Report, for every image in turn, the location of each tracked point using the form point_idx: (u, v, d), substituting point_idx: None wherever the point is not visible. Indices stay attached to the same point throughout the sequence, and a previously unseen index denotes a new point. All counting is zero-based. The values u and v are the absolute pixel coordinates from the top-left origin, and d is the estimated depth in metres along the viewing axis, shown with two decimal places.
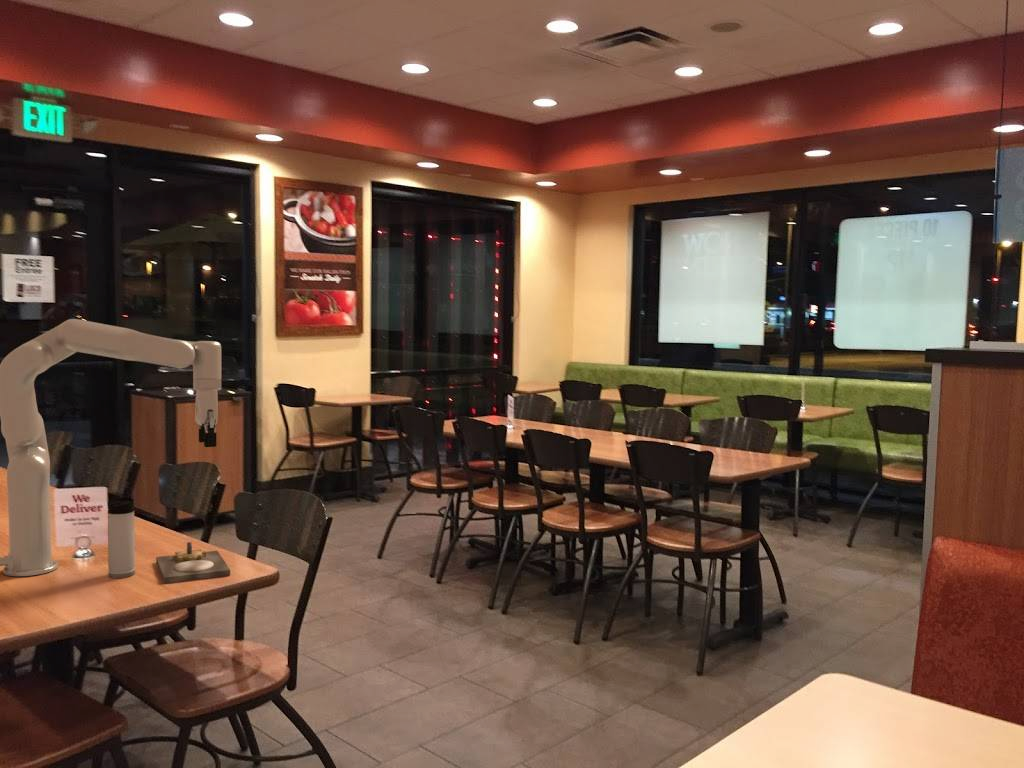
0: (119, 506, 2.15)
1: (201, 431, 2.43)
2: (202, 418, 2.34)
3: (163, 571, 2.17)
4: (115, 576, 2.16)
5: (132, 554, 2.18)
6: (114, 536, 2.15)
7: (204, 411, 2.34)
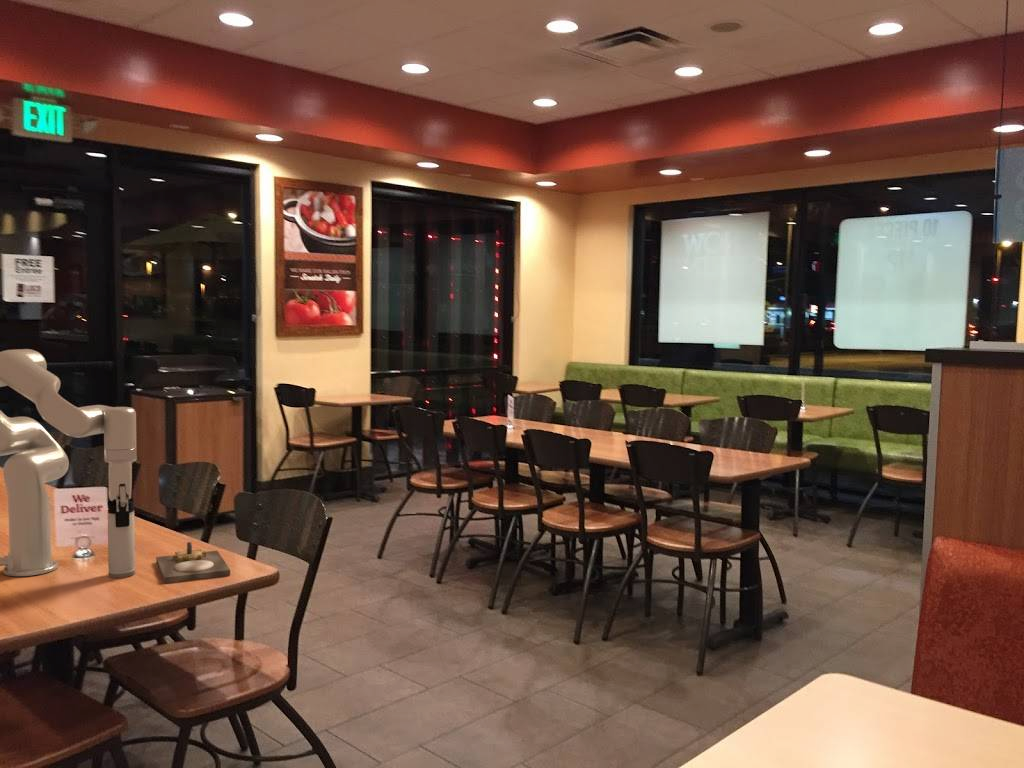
0: None
1: None
2: (113, 494, 2.12)
3: (163, 571, 2.17)
4: (115, 576, 2.16)
5: (132, 554, 2.18)
6: (114, 535, 2.15)
7: (115, 486, 2.12)
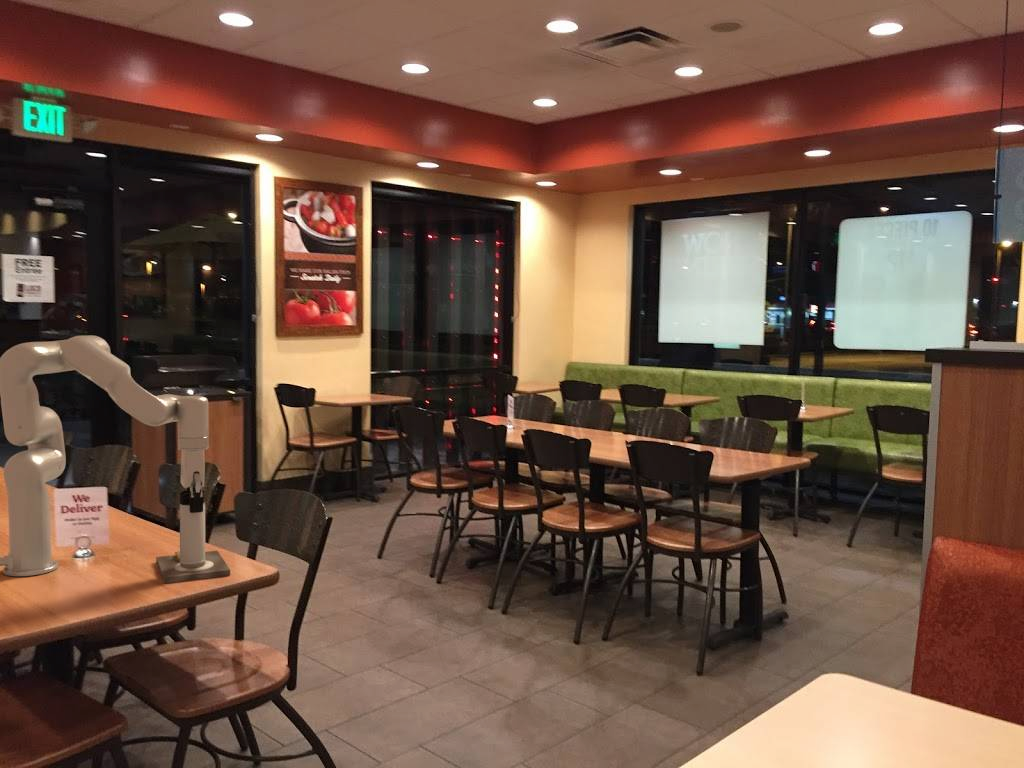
0: None
1: None
2: (187, 481, 2.15)
3: (163, 571, 2.17)
4: (187, 566, 2.19)
5: (203, 545, 2.21)
6: (187, 526, 2.18)
7: (190, 473, 2.15)
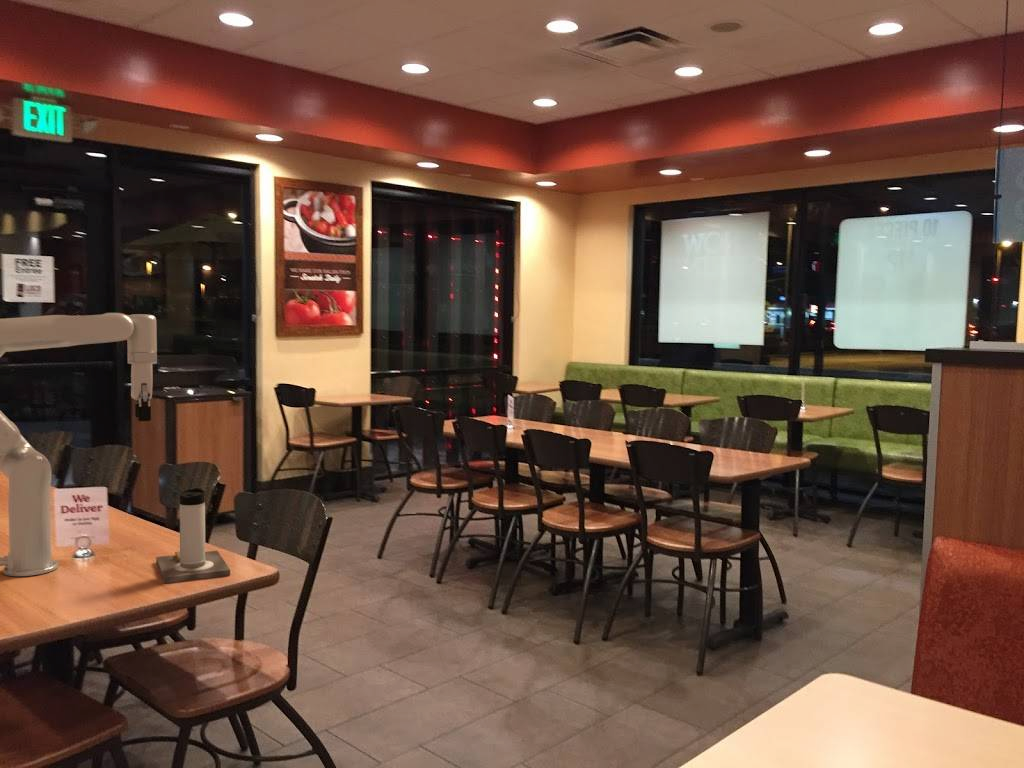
0: (191, 497, 2.18)
1: (137, 406, 2.40)
2: (136, 392, 2.31)
3: (163, 571, 2.17)
4: (187, 566, 2.19)
5: (203, 545, 2.21)
6: (187, 526, 2.18)
7: (138, 385, 2.31)
